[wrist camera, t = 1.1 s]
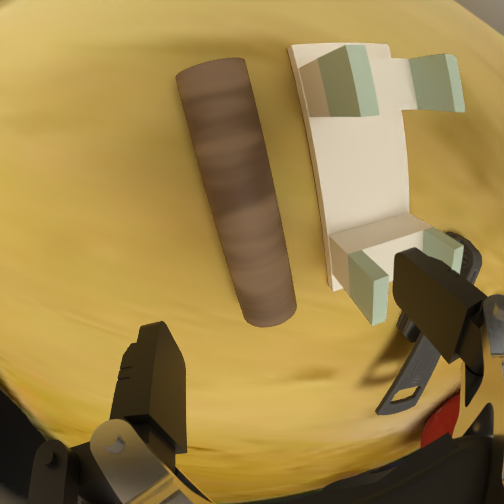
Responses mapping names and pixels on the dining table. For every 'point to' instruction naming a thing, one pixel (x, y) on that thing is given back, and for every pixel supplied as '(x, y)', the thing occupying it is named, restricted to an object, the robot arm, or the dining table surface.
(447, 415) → the mixing bowl
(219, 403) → the dining table surface
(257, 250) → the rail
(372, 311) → the white cradle stand
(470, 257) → the zipper pull
